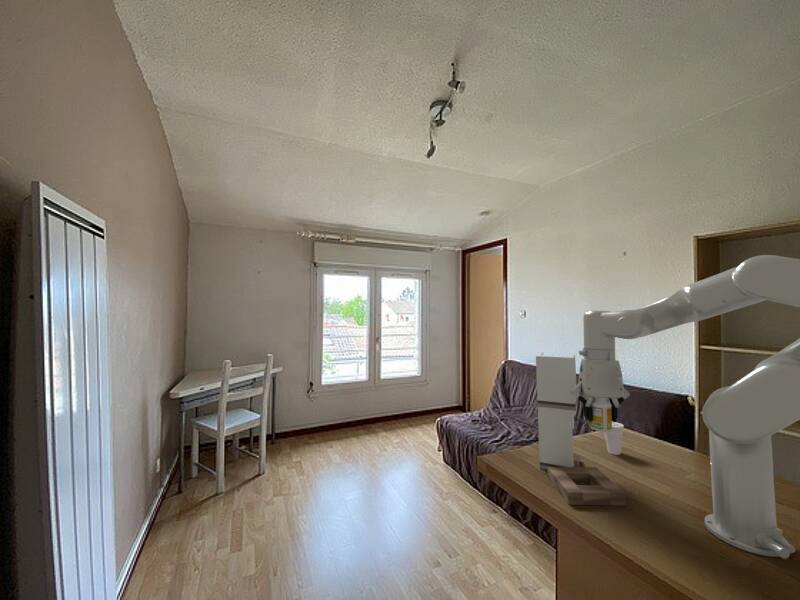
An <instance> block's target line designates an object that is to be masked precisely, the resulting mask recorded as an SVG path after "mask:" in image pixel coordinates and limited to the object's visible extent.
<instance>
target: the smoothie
mask: <svg viewBox="0 0 800 600" xmlns="http://www.w3.org/2000/svg"><path fill="white" fill-rule="evenodd" d="M624 430H625V426H624V424H622V423H621V422H620V423H619V422H617V421H616V422H613V421H612V430H611V431H609V432H603V433H604V437H605V443H606V449H607V452H608V453H609V454H611V455H615V456H620V455H621V454H622V444H623V442H622V441H623V435H624V434H623V433H624Z"/></svg>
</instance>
